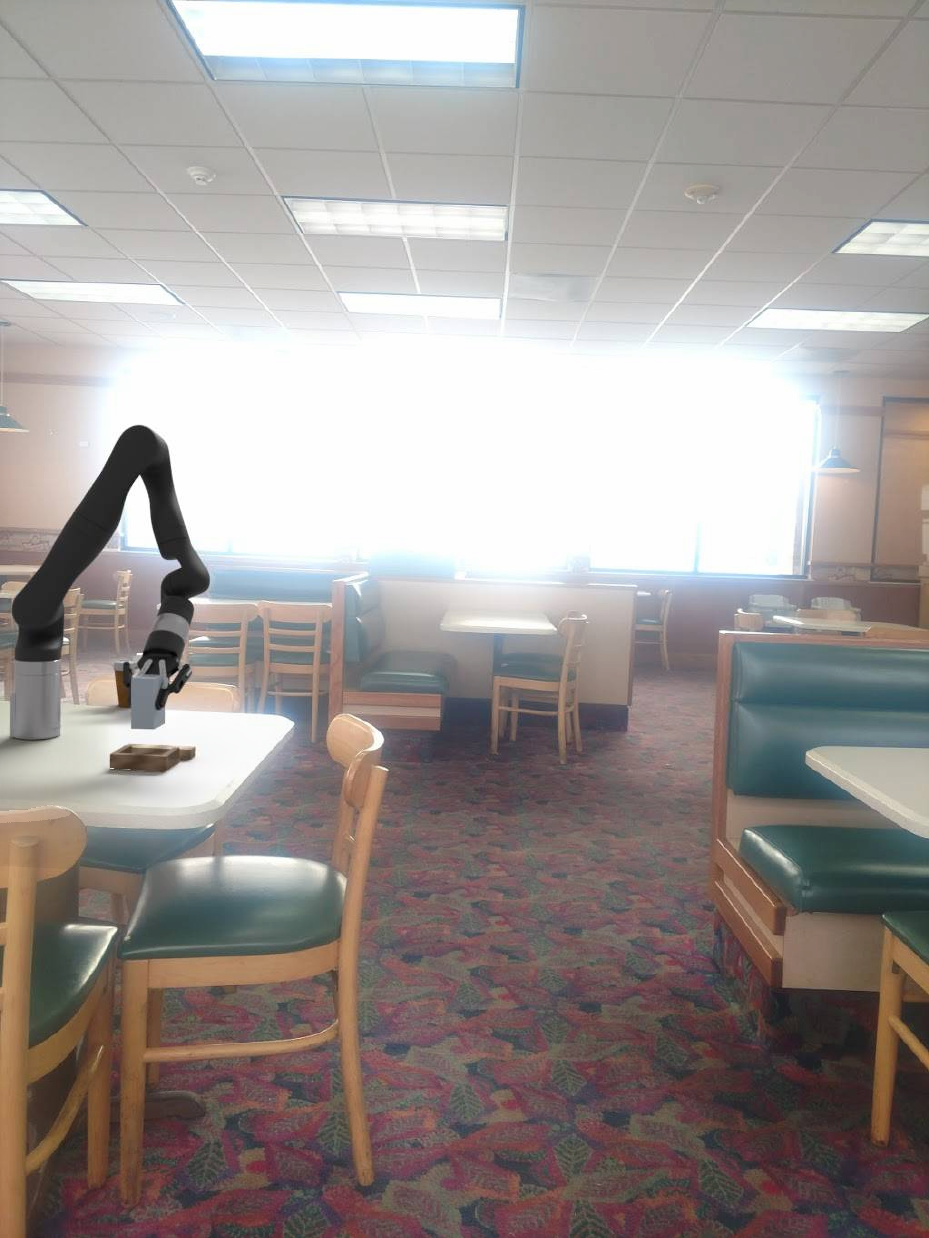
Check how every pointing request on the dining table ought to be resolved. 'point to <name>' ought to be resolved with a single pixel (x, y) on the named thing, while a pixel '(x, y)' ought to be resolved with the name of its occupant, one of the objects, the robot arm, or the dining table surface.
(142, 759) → the tray
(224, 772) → the dining table surface
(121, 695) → the disposable coffee cup
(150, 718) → the pale grey upright block
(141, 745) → the dock step
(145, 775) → the dining table surface
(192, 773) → the dining table surface
